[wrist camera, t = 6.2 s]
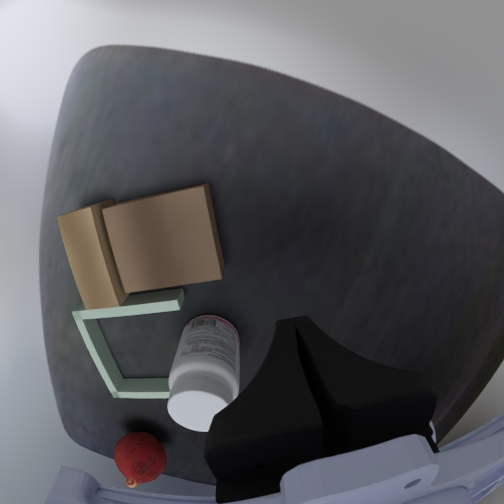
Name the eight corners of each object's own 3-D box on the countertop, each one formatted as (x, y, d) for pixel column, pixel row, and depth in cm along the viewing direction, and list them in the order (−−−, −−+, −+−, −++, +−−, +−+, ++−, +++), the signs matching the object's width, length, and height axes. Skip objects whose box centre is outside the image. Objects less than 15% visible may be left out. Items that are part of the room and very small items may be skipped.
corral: (182, 288, 22) (177, 299, 20) (210, 381, 25) (208, 396, 23) (82, 300, 22) (71, 311, 20) (119, 384, 25) (113, 397, 23)
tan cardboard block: (209, 182, 20) (203, 186, 17) (224, 263, 22) (222, 279, 19) (119, 202, 20) (102, 209, 17) (138, 276, 22) (125, 293, 19)
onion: (141, 411, 26) (122, 469, 19) (181, 438, 28) (171, 494, 20) (115, 426, 27) (96, 476, 20) (152, 450, 29) (140, 500, 21)
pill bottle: (222, 368, 24) (215, 443, 16) (173, 343, 24) (149, 416, 15) (251, 330, 23) (254, 407, 15) (199, 302, 22) (179, 374, 14)
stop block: (112, 199, 20) (90, 206, 16) (135, 286, 22) (119, 306, 18) (81, 207, 20) (56, 216, 16) (104, 290, 22) (86, 310, 19)
